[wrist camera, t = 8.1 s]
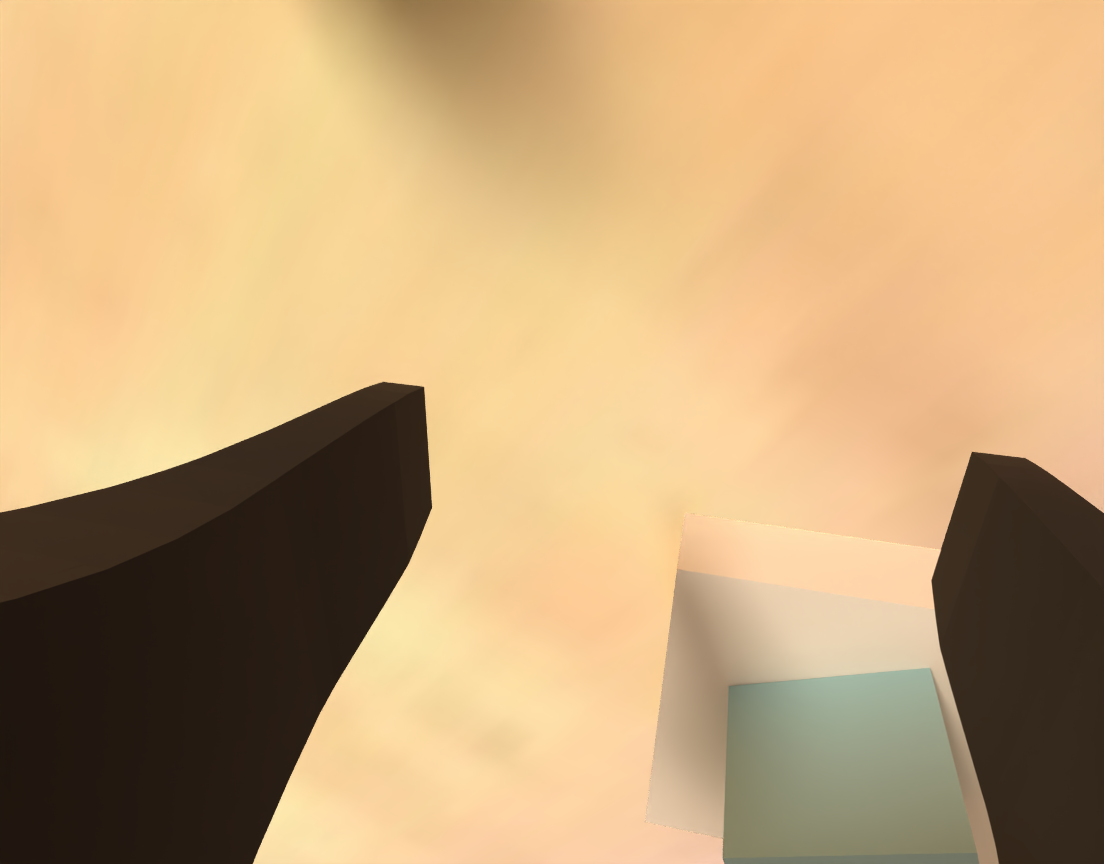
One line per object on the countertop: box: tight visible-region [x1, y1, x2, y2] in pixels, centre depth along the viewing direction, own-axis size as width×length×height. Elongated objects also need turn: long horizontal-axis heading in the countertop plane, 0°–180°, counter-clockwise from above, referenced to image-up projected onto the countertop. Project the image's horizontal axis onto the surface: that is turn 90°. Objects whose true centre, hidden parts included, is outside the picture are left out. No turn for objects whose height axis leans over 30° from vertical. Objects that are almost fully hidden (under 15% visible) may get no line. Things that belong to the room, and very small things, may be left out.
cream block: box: [645, 513, 999, 864], centre depth 23 cm, size 10×10×3 cm
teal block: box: [723, 668, 979, 864], centre depth 20 cm, size 5×5×5 cm
